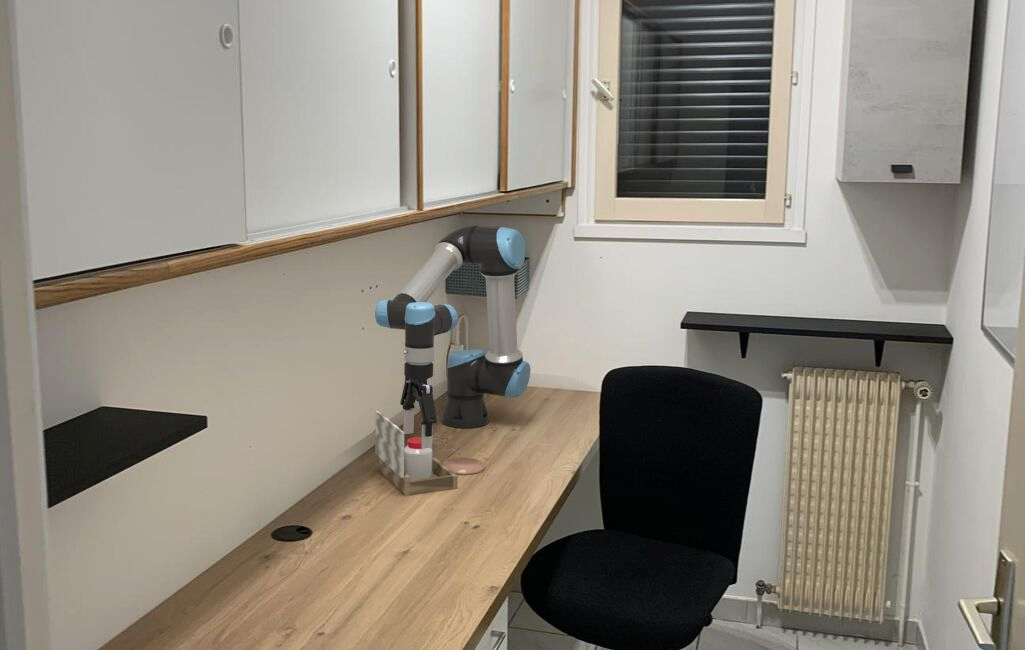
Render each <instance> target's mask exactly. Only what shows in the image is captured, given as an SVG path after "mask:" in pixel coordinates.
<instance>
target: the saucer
mask: <svg viewBox="0 0 1025 650" xmlns="http://www.w3.org/2000/svg"><path fill="white" fill-rule="evenodd" d="M442 463H443V464H444V465H445V466H446V467H447V468H449V469H450V470H451V471H452V472H454V473H455V474H456V475H457V476H472V475H477V474H480V473H482V472H483V471H485V469H486V468H485V466H486V465H485V463H484V462H483V461H482V460H479V459H475V458H469V457H454V458H448V459H447V460H444V461H443V462H442Z"/></svg>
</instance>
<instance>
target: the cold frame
mask: <svg viewBox="0 0 1025 650" xmlns="http://www.w3.org/2000/svg"><path fill="white" fill-rule="evenodd" d="M404 448H405V434H404V432H403V429H401V428H400V427H399V426H398V425H396V424H395V423H394V422H393V421H391V420H390V419H389V418H388V417H386V415H384V414H383V413H381V412H380V411H379V410H376V411H375V449H374V450H375V452H374V453H375V455H376V456H377V457H378V458H379V459H378V461H379V472H380V473H381V474H382V475H383V476H384V477H385V478H386V479H388V481H389V482H390V483H391V484H393V485H394V487H395V488H396V489H397V490H399V491H400V492H401V494H403V496H405V497H408V496H415V495H422V494H428V493H429V494H430V493H436V492H443V491H449V490H450V491H451V490H456V489H458V476H459V475H456V474H455V473H454V472H452V471H451V470H450V469H449V468H447V467H446V466H445V465H444V464H443V462H441V461H440V460H439V459H438V458H437V457H435V456H434V455H433V454H432V473H434V474H435V475H436V476H434V477H433V476H432V478H425V479H418V480H411V481H410V476H409V475H407V474H406V472H405V471H404Z"/></svg>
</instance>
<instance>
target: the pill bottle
mask: <svg viewBox="0 0 1025 650" xmlns="http://www.w3.org/2000/svg"><path fill="white" fill-rule="evenodd" d="M421 444H422V436H413V437H410V438H408V439H407V445H405V446H404V471H405V472H406V474H407V475H409V476H410V481H411V480H418V479H425V478H433V471H432V455H433V447H432V448H423V449H422V448H421Z"/></svg>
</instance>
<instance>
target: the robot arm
mask: <svg viewBox="0 0 1025 650" xmlns="http://www.w3.org/2000/svg"><path fill="white" fill-rule="evenodd" d="M432 252H433V254H432V255H431V256H430V257H429V258H428V259H427V260H426V261H425V263H423V265H422V266H421V267H420V268H419V269H418V270H417V272H415V273H414V275H413V276H412V277H411V279H409V281H407V283H406V284H405V285H404V287H402V288H401V290H400V291H398V293H397V294H396V296H395V297H394V298H393V299H392V300H390V299H382V300H380V301H378V303H377V304H376V307H375V310H374V317H375V321H376V324H377V325H378V326H380V327H384V328H389V329H394V330H395V329H396V330H403V331H404V350H402V353H403V355H404V361H405V363H404V364H403V365H404V366H403V368H404V369H403V370H404V372H403V374H404V385H403V390H402V394H401V399H400V406H402V409H403V422H402V423H403V426H402V427H403V429H402V431H403V432H404V435H408V434H414V431H415V430H414V429H415V428H414V427H415V426H414V422H415V408H416V407H415V403H416V402H418V407H419V409H420V413H421V414H420V415H421V418H422V421H421V423H420V424H421V437H422V444H421V448H422V449H423V448H432V449H433V432H434V431H433V427H434V426H433V425H434V424H437V415H436V407H435V400H434V394H433V388H434V387H433V384H430V385H429V384H428V380H429V379H432V378H433V377H434V363H433V362H434V360H435V359H434V358H435V346H434V344H435V343H434V341H435V336H438V335H441V334H446V333H448V332H450V331H451V330H454V328H456V326H457V324H458V321H459V320H458V319H459V316H458V312H457V310H456V309H455V308H454V306H453V305H450V304H447V303H444V304H442V303H440V304H437V305H434V303H433V304H432V303H431V302H428V301H429V300H430V298H431V297H432V296H433V295H434V293H436V291H437V290H438V289H439V288H440V286H441V285H442V283H444V281H446V279H447V278H448V277H449V275H451V273H452V272H454V271H456V270H458V269H460V268H461V267H462V266H464V265H469V264H470V265H471V264H472V265H479V272H480V274H481V275H482V276H483V277H484V278H485V288H486V289H485V290H486V291H485V292H486V304H487V305H486V306H487V308H486V309H487V322H488V325H487V326H488V327H487V328H488V341H489V342H488V343H489V350H488V351H487V352H486V353H485V350H483V349H473V348H472V349H463V350H458V351H455V352H451V354H449V356H448V359H447V360H448V361H447V366H446V368H447V371H446V373H447V380H446V381H447V384H446V385H447V386H446V387H447V388H446V389H447V390H446V391H447V392H446V401H445V403H444V406H443V409H442V412H441V415H440V416H441V417H440V418H441V419H440V420H441V423H442V424H443V425H445V426H448V427H451V428H457V429H459V428H460V429H472V428H473V429H474V428H480V427H484V426H485V425H487V424H488V423H489V413H488V412H489V411H488V410H487V406H486V402H485V399H484V394H487V395H493V396H500V397H504V398H516V399H517V398H520V397H521V396H522V395H523V394H524V393H525V391H526V389H527V387H528V384H529V381H530V378H531V364H530V363H529V362H528V361H526V360H524V358H523V352H522V351H521V350H520V349H518V333H517V311H516V289H515V276H516V275H517V274H518V273H519V272H520V268H521V267H522V266H523V265H524V262H525V260H526V258H525V257H526V252H527V251H526V243H525V239H524V237H523V235H522V234H521V233H520V232H519V230H517V229H515V228H509V227H505V226H490V225H489V226H488V225H487V226H486V225H485V226H484V225H477V224H470V225H465V226H462V227H459V228H456V229H455V230H454V231H452V232H450V233H448V234H447V235H446V236H444V237H443V238H442V239H440V240H439V242H438V243H437V244H436V245H435V246H434V248H433V251H432Z"/></svg>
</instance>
